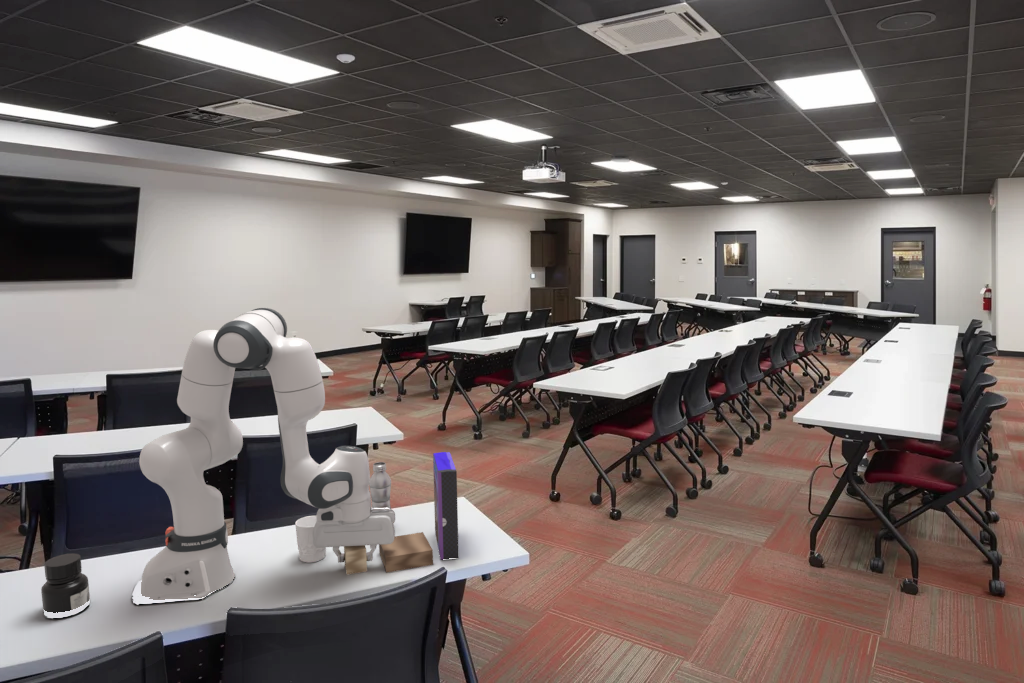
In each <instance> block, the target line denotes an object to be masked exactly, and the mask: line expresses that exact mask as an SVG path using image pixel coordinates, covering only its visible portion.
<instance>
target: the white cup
mask: <svg viewBox="0 0 1024 683" xmlns="http://www.w3.org/2000/svg"><path fill="white" fill-rule="evenodd" d="M316 516H317V515H308V516H304V517H301V518H298V519H297V520H296V521H295V525H294V526H295V534H296V542H297V543H296V545H297V550H298V556H299V561H301V562H302V563H316V562H319V561H321V560H323V559H325V557H326V556H327V547H320V548H317V547H315V546H314V544H313V530H314V526H315V523H316V521H317V518H316Z"/></svg>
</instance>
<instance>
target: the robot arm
mask: <svg viewBox="0 0 1024 683" xmlns="http://www.w3.org/2000/svg"><path fill="white" fill-rule="evenodd" d="M287 335H288V325H287V322H286V319H285V318H284V317H283V315H282V314H281V313H280V312H278V311H276V310H275V309H272V308H268V307H267V308H266V307H258V308H254V309H252V310H249V311H246V312H244V313H242V314H240V315H238V316H236V317H235V318H234V319H232V320H230V321H228V322H226V323H225V324H224V325H222V326H221V327H220V328H219V330H218V329H205V330H202V331H199V332H198V333H196V334H195V335H194V336H193V337H192V340H191V342H190V344H189V346H188V349H187V352H186V355H185V357H184V358H185V359H184V361H183V364H182V365H183V366H182V370H181V374H180V375H181V376H180V382H179V387H178V391H177V392H178V393H177V398H176V403H177V406H178V408H179V409H180V411H181V412H182V413H183V414H185V415H186V416H188V417H190V421H189V422H190V423H189V425H188V426H187V427H186V428H183V429H179V430H177V431H176V430H175V431H174V432H170V433H166V434H163V435H161V436H159V437H157V438H155V439H153V440H151V441H150V442H147V444H145V445H144V446H143V447H142V448H141V451H140V453H139V454H140V455H139V461H138V462H139V468H140V471H141V472H142V474H143V476H145V477H146V479H148V480H149V481H150V482H152V483H154V484H157V485H158V486H160V487H161V488H162V489H163V490H164V491H165V493H166V494H167V496H168V499H169V501H170V506H171V511H172V519H173V526H168V528H166V530H165V534H164V535H165V538H164V539H165V540H164V541H165V547H164V548H163V549H162V550H160V551H159V552H158V553H157V554H156V555H154V556H153V557H152V558H151V559H150V560H148V562H147V563H146V565H145V566H144V569H143V572H142V576H141V579H142V582H141V594H142V596H145V597H150V598H149V599H153V600H165V599H188V598H202V597H205V596H207V595H208V594H209V593H211V592H213V591H215V590H218V589H220V588H222V587H224V586H226V585H227V584H229V583H230V582H231V581H232V582H233V581H234V580H235V578H236V573H235V571H234V569H233V566H232V563H231V560H230V555H229V550H228V544H229V537H228V536H229V535H228V528H227V522H226V521H225V517H224V516H225V514H224V500H223V495H222V493H221V491H220V490H219V489H217V488H216V487H215V486H212V485H210V484H206V482H205V477H204V471H207V470H209V469H213V468H215V467H218V466H220V465H223V464H225V463H226V462H229V461H230V460H232V459H233V458H234V457H235V456H237V455H238V454H239V453H241V451H242V448H243V445H244V442H243V441H244V440H243V438H244V437H243V433H242V431H241V429H240V427H238V425H237V424H236V423H235V422H233V421H232V420H231V418H230V417H231V416H230V412H229V411H230V410H229V408H230V407H229V406H230V400H231V393H232V387H233V383H234V382H233V381H234V376H235V370H236V369H247V370H248V369H249V370H252V371H253V370H254V371H262V370H263V369H264V368H265V369H266V370H267V371H268V373H269V375H270V378H271V383H272V388H273V393H274V397H275V403H276V406H277V407H276V408H277V421H278V422H277V423H278V432H279V433H278V434H279V439H280V448H281V454H282V466H281V467H282V468H281V473H280V486H281V489H282V491H283V492H284V494H285V495H286V496H288V497H289V498H292V499H295V500H297V501H301V502H303V503H305V504H307V505H309V506H312V507H314V508H317V509H318V510H317V512H316V515H315V516H316V518H317V521H316V523H315V526H314V530H313V544H314V546H315V547H317V548H320V547H326V548H332V551H333V553H334V554H335V555H336V556H337V563H339V564H340V563H345V553H342V552H341V550H340V547H344V546H361V545H365V546H369V548H370V551H366V558H367V562H372V561H373V558H374V556H373V554H374V552H375V550H376V548H377V546H379V545H382V544H392V542H393V541H394V539H395V536H396V532H395V525H394V524H395V522H396V513H395V511H394V510H393V509H392V508H391V509H389V507H384V508H372V500H371V492H370V486H369V482H370V478H371V472H370V463H369V457H368V454H367V452H366V450H365V449H363V448H361V447H358V446H352V445H340V446H338V447H335V450H334V452H333V453H332V454H331V455H330V456H329V457H327V459H325V461H323V462H321V463H320V464H319V463H318V462H317V461H315V459H314V458H312V456H311V455H310V451H309V450H310V449H309V443H308V436H307V434H308V433H307V424H308V422H309V421H310V420H312V419H314V418H315V417H317V416H318V415H319V414H320V413H322V412H321V411H323V409H324V407H325V405H326V392H325V391H326V390H325V385H324V380H323V377H322V372H321V369H320V368H321V367H320V364H319V362H318V359H317V356H316V353H315V351H314V349H313V347H312V345H311V343H310V342H309V341H308V340H306V339H304V338H303V337H302V338H301V337H295V336H294V337H293V336H292V337H287ZM389 510H390V511H389ZM234 577H235V578H234ZM233 579H234V580H233ZM232 582H231V583H232ZM231 583H230V584H231ZM230 584H229V585H230ZM226 587H227V586H226ZM224 588H225V587H224ZM222 589H223V588H222ZM220 590H221V589H220ZM218 591H219V590H218ZM194 595H196V596H194Z"/></svg>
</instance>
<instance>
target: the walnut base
mask: <svg viewBox="0 0 1024 683" xmlns="http://www.w3.org/2000/svg"><path fill="white" fill-rule="evenodd" d="M378 548H379V549H378V553H379V556H380V559H381V561H382V563H383V567H384V569H385V573H392V572H398V571H404V570H411V569H416V568H422V567H423V568H424V567H427V566H433V565H434V550H433V548H432V546H431V544H430V542H429V540H428V539H427V537H426V535H425V533H424V532H423V531H422V532H417V533H416V532H414V533H409V534H402V535H395V539H394V541H393V542H392V544H382V545H378Z"/></svg>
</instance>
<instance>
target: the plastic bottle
mask: <svg viewBox="0 0 1024 683" xmlns="http://www.w3.org/2000/svg"><path fill="white" fill-rule="evenodd" d="M372 467H373V468H372V472H373V473H372V475H370V482H369V491H370V495H371V508H384V507H389V509H392V508H391V491H392V490H391V488H392V479H391V477H390V475H389V473H388V472H386V470H387V463H386V462H384V461H377V462H373V464H372ZM389 511H390V510H389Z"/></svg>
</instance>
